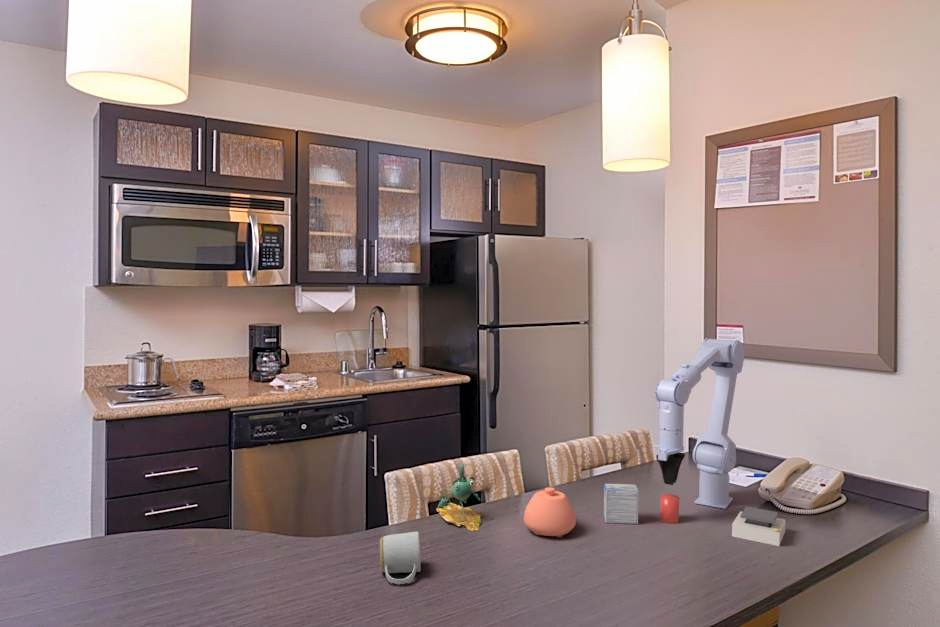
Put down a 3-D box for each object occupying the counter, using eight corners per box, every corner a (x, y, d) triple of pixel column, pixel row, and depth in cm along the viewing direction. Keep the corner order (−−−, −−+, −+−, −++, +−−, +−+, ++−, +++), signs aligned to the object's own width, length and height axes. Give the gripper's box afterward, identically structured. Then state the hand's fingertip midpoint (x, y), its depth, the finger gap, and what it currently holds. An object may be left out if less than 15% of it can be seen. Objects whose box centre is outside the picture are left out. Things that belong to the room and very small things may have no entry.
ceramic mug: (380, 563, 132) (379, 527, 132) (419, 561, 133) (419, 525, 133) (379, 588, 122) (379, 549, 121) (422, 586, 123) (422, 547, 122)
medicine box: (635, 518, 159) (636, 484, 159) (638, 524, 155) (638, 489, 154) (603, 517, 160) (603, 483, 160) (605, 523, 156) (605, 488, 155)
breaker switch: (745, 521, 154) (746, 506, 154) (777, 527, 150) (777, 512, 150) (740, 530, 148) (740, 515, 148) (773, 536, 144) (773, 521, 144)
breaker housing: (740, 523, 156) (740, 508, 156) (785, 532, 151) (785, 517, 151) (731, 536, 148) (732, 521, 148) (779, 546, 142) (779, 530, 142)
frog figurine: (461, 505, 169) (465, 451, 167) (493, 536, 153) (498, 477, 151) (428, 509, 164) (431, 455, 162) (457, 542, 148) (461, 482, 146)
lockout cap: (663, 516, 161) (663, 492, 161) (680, 519, 158) (681, 496, 158) (657, 521, 157) (658, 497, 157) (675, 525, 155) (676, 500, 154)
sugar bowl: (519, 538, 146) (520, 494, 146) (528, 517, 160) (529, 476, 159) (573, 543, 143) (574, 498, 143) (578, 521, 157) (578, 480, 156)
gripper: (663, 421, 165) (662, 473, 166) (645, 431, 153) (644, 487, 154) (691, 424, 161) (690, 477, 162) (675, 435, 149) (674, 493, 150)
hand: (670, 483), depth 157 cm, fingers closed
